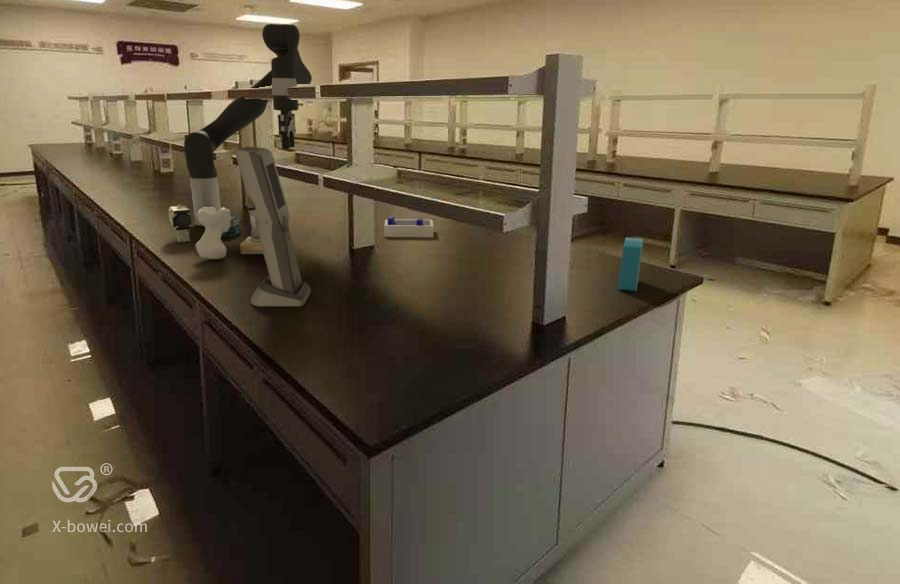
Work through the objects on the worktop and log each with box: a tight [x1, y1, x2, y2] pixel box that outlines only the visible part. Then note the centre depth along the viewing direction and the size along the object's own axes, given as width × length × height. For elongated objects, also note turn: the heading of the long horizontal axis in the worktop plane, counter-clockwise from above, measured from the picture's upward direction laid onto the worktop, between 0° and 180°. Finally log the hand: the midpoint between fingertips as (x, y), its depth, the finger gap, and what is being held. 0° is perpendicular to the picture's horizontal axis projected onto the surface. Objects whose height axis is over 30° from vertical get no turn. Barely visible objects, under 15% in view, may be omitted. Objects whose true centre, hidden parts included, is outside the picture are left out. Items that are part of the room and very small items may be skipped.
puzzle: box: [221, 215, 242, 237], centre depth 199 cm, size 6×6×6 cm
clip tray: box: [383, 218, 434, 238], centre depth 207 cm, size 11×17×4 cm, turn 94°
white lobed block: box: [195, 207, 231, 260], centre depth 168 cm, size 10×11×15 cm
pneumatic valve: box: [168, 204, 193, 243], centre depth 188 cm, size 6×12×12 cm, turn 32°
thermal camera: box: [234, 146, 312, 308], centre depth 133 cm, size 12×13×35 cm
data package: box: [618, 237, 644, 292], centre depth 152 cm, size 12×4×12 cm, turn 161°
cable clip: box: [387, 216, 424, 225], centre depth 206 cm, size 12×4×6 cm, turn 81°
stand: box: [239, 236, 264, 255], centre depth 181 cm, size 10×10×3 cm
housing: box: [249, 214, 260, 242], centre depth 179 cm, size 6×6×12 cm
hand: (288, 148), depth 184 cm, fingers open, 8 cm apart
